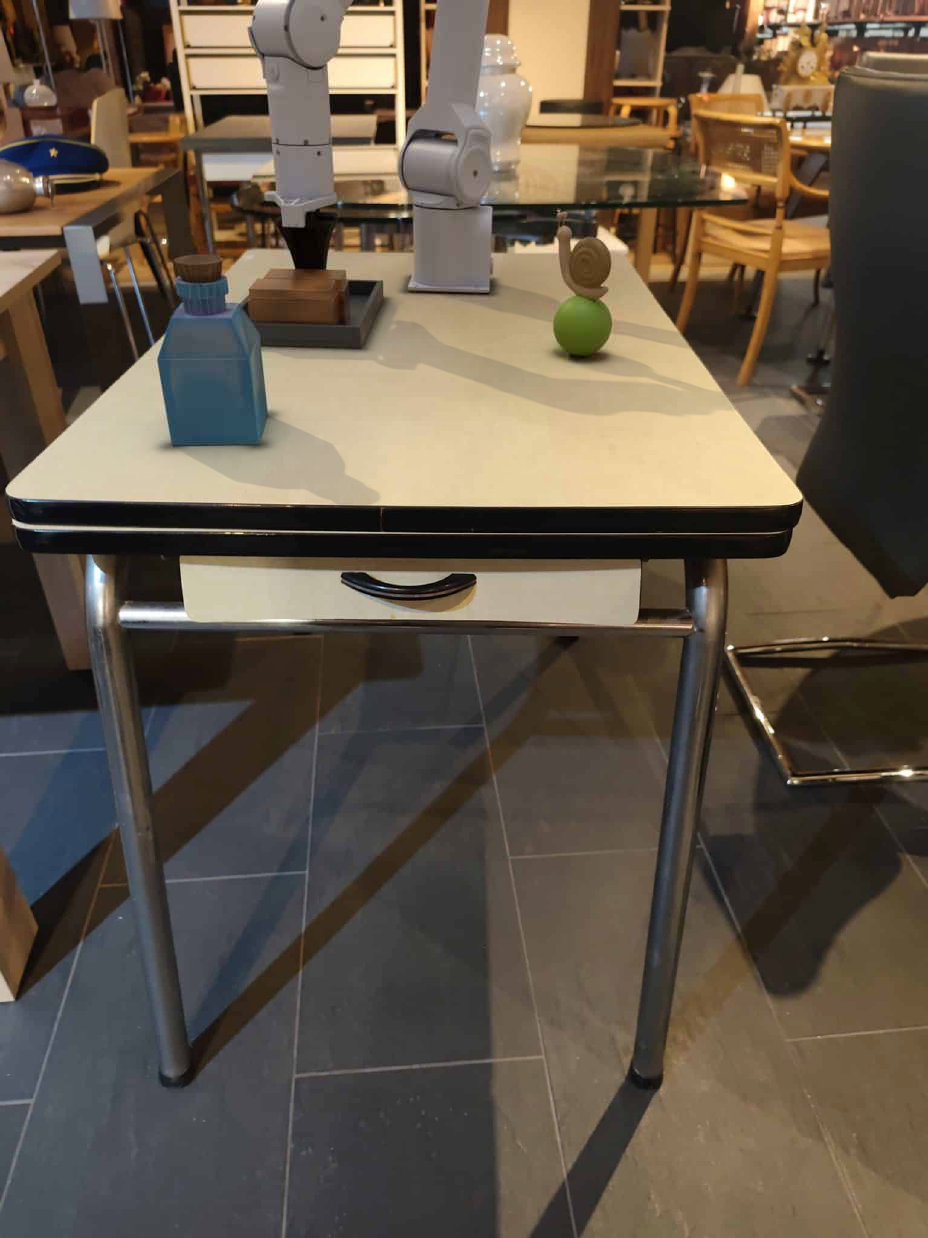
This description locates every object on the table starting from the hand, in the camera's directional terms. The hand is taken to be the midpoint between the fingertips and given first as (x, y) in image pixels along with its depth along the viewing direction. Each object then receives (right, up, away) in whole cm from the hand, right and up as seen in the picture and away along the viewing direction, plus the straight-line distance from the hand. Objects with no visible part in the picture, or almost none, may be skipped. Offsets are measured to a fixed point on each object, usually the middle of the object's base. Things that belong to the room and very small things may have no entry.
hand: (312, 289), depth 93 cm
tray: (0, -3, 0) cm, 3 cm away
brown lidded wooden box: (0, -4, -2) cm, 5 cm away
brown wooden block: (0, -6, -6) cm, 9 cm away
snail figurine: (+26, -9, -8) cm, 29 cm away
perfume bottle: (-2, -20, -26) cm, 33 cm away
